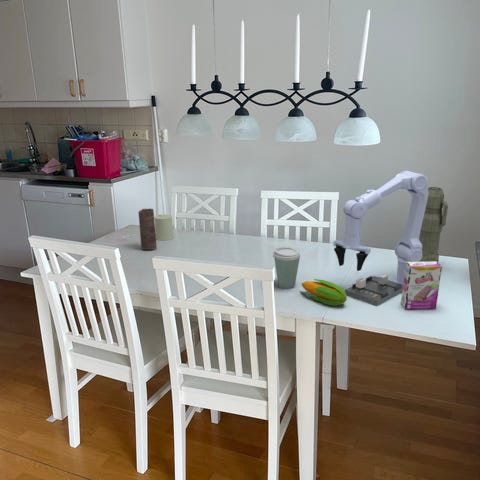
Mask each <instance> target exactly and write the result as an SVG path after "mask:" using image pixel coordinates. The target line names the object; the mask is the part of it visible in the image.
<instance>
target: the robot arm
mask: <svg viewBox="0 0 480 480" xmlns="http://www.w3.org/2000/svg"><path fill="white" fill-rule="evenodd" d="M429 183H430V180H429V179H428V177H427V176H426V175H425V174H423V173H418V172H413V171H411V170H407V169H406V170H403V171H401V172H400V173H397V174H396V175H395V176H394V178H392V179H391V180H389V181H388V182H386V183H385V184H383V185H382V186H380V187H379V188H378V189H376V190H375V189H367V190H366V191H365V193H363V194H361V195H360V196H356V197H355V199H349V200H347V201H346V203H345V204H344V206H343V207H342V211H343V213H344V216H345V217H344V218H345V220H344V237H343V239H344V240H338V239H335V240H333V247H334V248H333V251H334V253H335V255H336V258H337V261H338V265H339V267H341V266H344V264H345V257H346V255H345V254H346V252H347V251H346V250H352V251H354V252H355V251H356V252H358V253H355V255H356V262H357V263H356V272H359V271H361V270H362V268H363V266H364V263H365V260H366V259H367V257H368V256H369V254H371V249H372V247H368V246H365V245H362V243H361V231H362V218H363V217H364V216H365V215H366V212H368V210H370V209H372V208H374V207H375V206H377V205H379V204H380V203H381V202H382V201H381V200H382V199H383V198H385V197H387V196H388V195H390V194H392V193H394V192H397V191H399V190H406V191H407V192H408V193H409V194H410V195H411V197H412V198H411V201H410V205H409V210H408V215H407V220H406V224H405V225H406V226H405V229H404V233H403V236H401V237H400V238H399V239H398V242H397V244H396V245H395V248H394V254H395V255H396V257H397V258H396V259H397V268H396V278H394V279H393V280H392V281H393V282H396V283H400V284H403V280H404V271H405V263H406V262H419V261H420V260H421V258H422V244H421V242H420V241H419V236H420V231H421V226H422V222H423V217H424V213H425V208H426V204H427V199H428V194H429V192H428V188H429V187H428V186H429Z"/></svg>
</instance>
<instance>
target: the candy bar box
mask: <svg viewBox="0 0 480 480" xmlns="http://www.w3.org/2000/svg"><path fill="white" fill-rule="evenodd" d="M442 268H443V266H442V265H441V264H440V263H439V261H438V262H436V261H430V262H406V263H405V271H404V280H403V289H402V293H401V298H400V305H401V306H402V307H403V308H404V311H405V310H410V311H411V310H436V309H437V305H438V304H437V303H438V297H439V290H440V282H441V281H440V280H441V274H442Z"/></svg>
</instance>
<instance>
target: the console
mask: <svg viewBox="0 0 480 480" xmlns="http://www.w3.org/2000/svg"><path fill="white" fill-rule="evenodd" d="M378 278H379V276H376V275H373V276H372V275H370V276H368V277H365V279H366V286H365V287H363V288H358V287H356V282H355V283H353V284H352V285H351V286H349V287H347V288H345V289H344V291H345V292H346V296H347V297H350V298H353V299H356V300H357V301H361V302H364V303H367V304H370V305H373V306H375V307H378V306H380V305H382V304H383V303H386V302H388V301H389V300H391V299H392V298H394V297H397V296H398V295H400V294H402V289H403V284H400V283H396V282H393V280H389V279H388V283H386V284H384V285H382V284H379V283H378Z"/></svg>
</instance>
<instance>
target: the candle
mask: <svg viewBox="0 0 480 480" xmlns="http://www.w3.org/2000/svg"><path fill="white" fill-rule="evenodd" d="M154 211H155V210H154V208H142V209H141V210H139V211H138V222H139V233H140V234H139V235H140V248H141V249H144V250H156V249H157V239H156V232H155V219H154V217H155V213H154Z"/></svg>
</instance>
